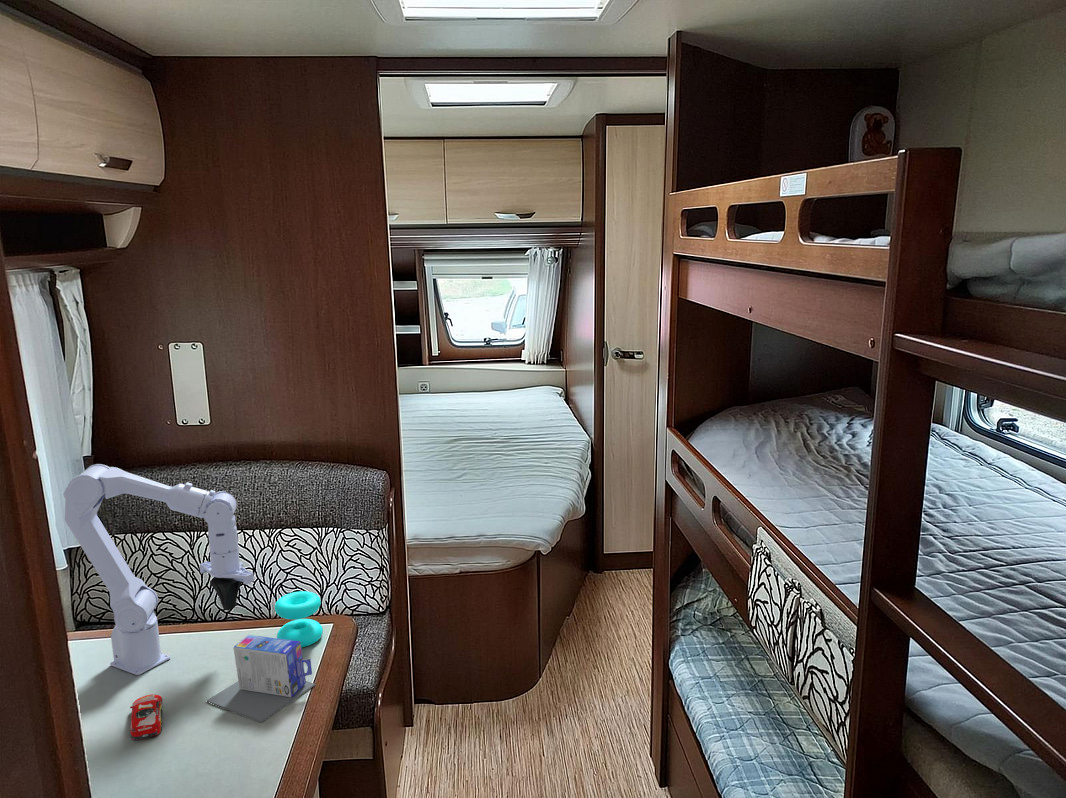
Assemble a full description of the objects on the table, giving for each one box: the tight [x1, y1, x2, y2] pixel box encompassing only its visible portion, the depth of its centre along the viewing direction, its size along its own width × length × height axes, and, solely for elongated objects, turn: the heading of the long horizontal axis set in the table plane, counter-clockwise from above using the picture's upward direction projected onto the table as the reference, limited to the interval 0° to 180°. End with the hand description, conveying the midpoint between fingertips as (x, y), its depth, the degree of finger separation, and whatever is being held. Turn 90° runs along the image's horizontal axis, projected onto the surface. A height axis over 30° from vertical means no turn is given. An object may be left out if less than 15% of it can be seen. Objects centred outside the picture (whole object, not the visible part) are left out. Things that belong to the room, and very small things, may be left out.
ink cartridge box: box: [233, 634, 313, 698], centre depth 150 cm, size 10×6×14 cm
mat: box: [206, 680, 316, 724], centre depth 149 cm, size 15×14×1 cm
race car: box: [129, 694, 163, 741], centre depth 141 cm, size 13×5×4 cm, turn 24°
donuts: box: [274, 590, 324, 648], centre depth 170 cm, size 10×10×10 cm
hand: (229, 608), depth 164 cm, fingers closed
